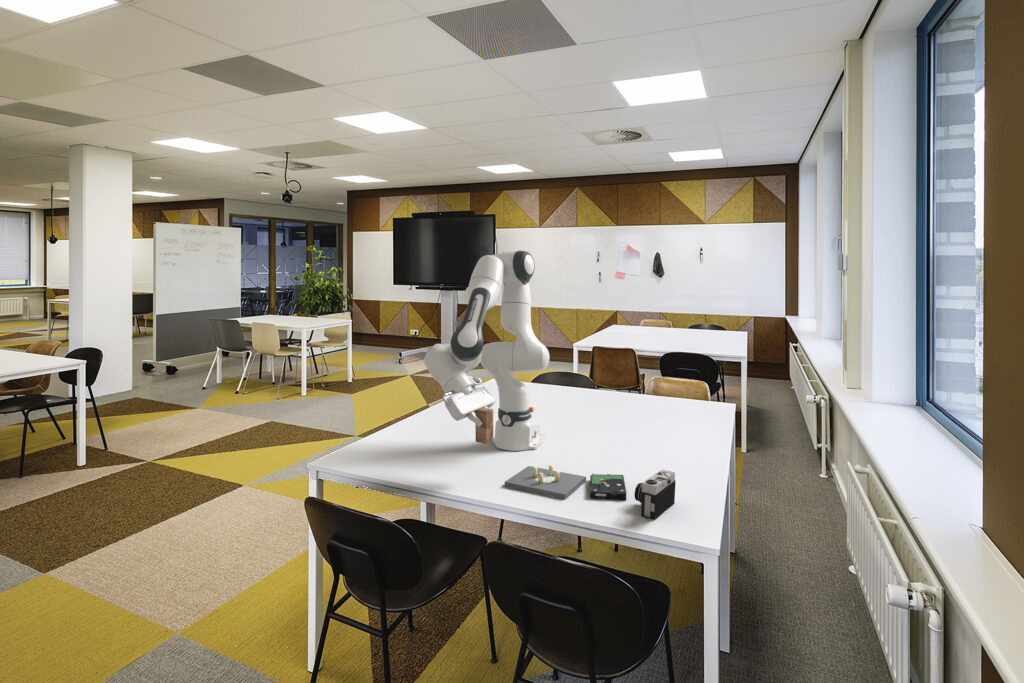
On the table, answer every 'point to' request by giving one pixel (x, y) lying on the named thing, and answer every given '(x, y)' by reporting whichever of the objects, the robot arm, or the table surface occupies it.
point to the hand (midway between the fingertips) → (486, 423)
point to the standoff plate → (546, 482)
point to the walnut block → (484, 425)
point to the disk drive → (607, 487)
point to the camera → (656, 494)
